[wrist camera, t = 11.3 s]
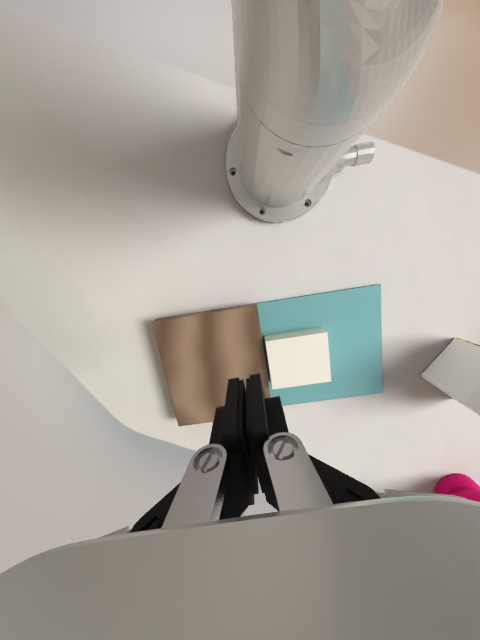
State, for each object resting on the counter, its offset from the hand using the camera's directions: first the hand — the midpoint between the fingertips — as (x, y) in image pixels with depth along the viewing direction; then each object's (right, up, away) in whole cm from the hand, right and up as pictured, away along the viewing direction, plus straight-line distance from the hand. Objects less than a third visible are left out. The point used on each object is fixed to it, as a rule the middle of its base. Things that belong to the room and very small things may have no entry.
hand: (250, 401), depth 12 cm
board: (-4, -2, +22) cm, 22 cm away
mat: (+11, 0, +21) cm, 24 cm away
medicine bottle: (+31, -3, +22) cm, 38 cm away
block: (+7, -1, +20) cm, 21 cm away
